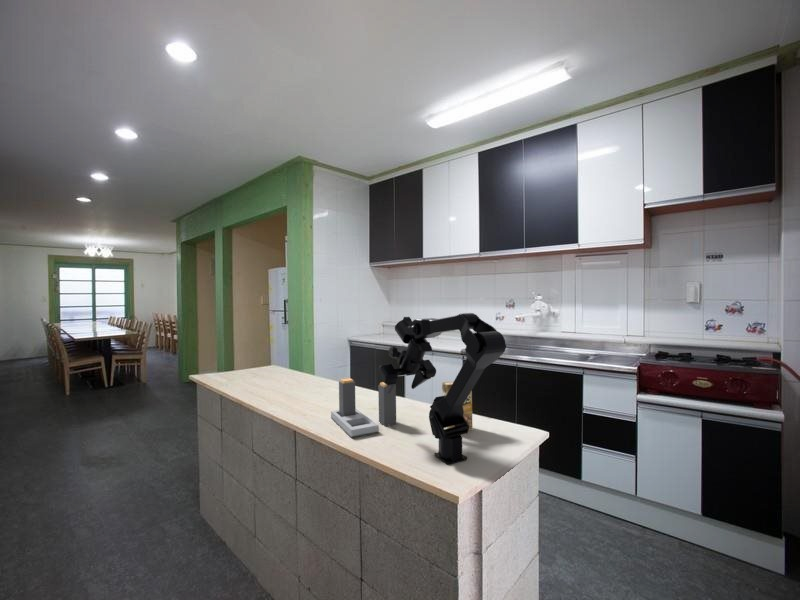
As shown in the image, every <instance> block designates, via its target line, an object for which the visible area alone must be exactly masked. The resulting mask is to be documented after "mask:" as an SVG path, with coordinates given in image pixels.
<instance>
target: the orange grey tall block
mask: <svg viewBox="0 0 800 600" xmlns="http://www.w3.org/2000/svg"><path fill="white" fill-rule="evenodd" d="M377 390H378V423H379V422H380V423H379V424H380V425H382V426H383V425H384V427H388V426H393V424H394V425H397V386H396V385H395V386H394V388H393V389H392V391H391V392H390V393H388V392H387V385H386V384H385V383H384V382H383V381H382V382H380V383H379V384H378V389H377Z"/></svg>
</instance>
